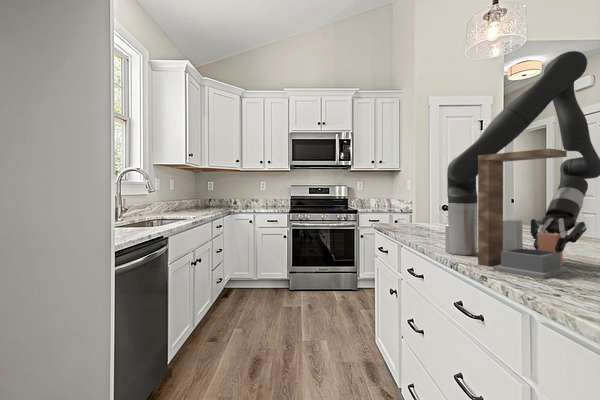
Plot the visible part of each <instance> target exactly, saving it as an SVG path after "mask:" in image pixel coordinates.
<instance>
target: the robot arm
mask: <svg viewBox="0 0 600 400" xmlns="http://www.w3.org/2000/svg"><path fill="white" fill-rule="evenodd" d="M587 67H588V59H587V56H586V55H585V54H584V53H583V52H581V51H577V50H573V51H572V50H571V51H565V52H563V53H561V54H559V55H557V56H556V57H555V58H553V59H551V60H550V61H549V62H548V63H547V65H546V66H545V67H544V70H543V74H542V75H541V76H540V78H539V79H538V80H537V81H536V82H535V83H534V84H532V86H530V87H529V88H528V89H527V90H525V91H524V92H523V93H521V94H520V95H518V97H516V98H514V100H512V101H511V102H510V103H508V104H507V105H506V106H505V108H503V109H502V110H501V111H500V112H499V114H497V115H496V116H495V118H494V119H493V120H492V121H491V122H490V123H489V124H488V126H487V127H486V128H485V129H484V130H483V132H482V133H481V134H480V136H479V137H478V138H477V139H476V140H475V142H473V143H472V145H470V146H469V147H468V148H467V149H465V150H464V151H463V152H462V153H461V154H459V155H458V156H456V157H454V159H452V161H450V163H449V164H448V165H447V174H446V175H447V178H446V179H447V182H446V183H447V224H445V233H444V235H445V241H444V244H445V253H449V254H453V255H457V256H458V255H460V256H475V255H478V190H477V177H478V155H488V154H498V153H500V152H501V150H503V149H504V148H505V147H507V146H508V145H509V144H511V143H512V142H513V141H514V140H516V138H518V137H519V136H520V135H521V134H522V133H524V131H525V130H526V129H527V128H528V127H529V126H530V125H531V124H532V123H534V121H535V120H536V119H537V118H538V117H539V116H540V114H542V112H544V110H545V109H547V107H548V106H549V105H550V104H551V102H552V103H553V107H554V110H555V114H556V117H557V121H558V126H559V132H560V137H561V142H562V148H563V151H567V152H577V153H580V155H581V157H575V158H573V157H572V158H569V159H565V160H564V161H563V162H562V163H561V164H560V167H559V171H560V175H559V177H560V179H559V185H558V187H557V189H556V191H555V193H554V194H553V196H552V197H551V200H550V203H549V205H548V208H547V210H546V212H545V215H544V217H542V219H541V220H536V219H535V218H532V219H531V220H530V235H531V237H532V238H533V240H534V242H533V247H534V250H537V248H538V234H539V233H555V234H560V237H561V238H559V240H558V242H557V245H556V247H555V250H556V252H558V253H560V252H562V251H563V252H564V250H565V247H566V245H567V244H569V243H576V242H577V241H578V240H579V239H580V238H581V237H582V235H583V234H585V232H586V231H587V229H588V228H587V226H586V223H585V222H584V221H579V222H578V221H577V220H578V217H579V215H580V212H581V210H582V208H583V204H584V199H585V197H586V194H587V191H588V189H589V184H588V181H587V180H589V179H597V178H598V177H600V156H599V155H598V153H597V150H596V149H595V147H594V146H593V143H592V141H591V135H590V131H589V123H588V121H587V118H586V116H585V113H584V112H583V110H582V108H581V107H580V105H579V102H578V100H577V98H576V93H575V82H576V81H577V80H579V79H580V78H581V77H582V76H583V75H584V74H585V72H586V70H587ZM539 229H540V230H539ZM572 229H573V230H572ZM569 231H571V232H570V233H568V232H569Z"/></svg>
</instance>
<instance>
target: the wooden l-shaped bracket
mask: <svg viewBox="0 0 600 400" xmlns="http://www.w3.org/2000/svg"><path fill="white" fill-rule="evenodd" d="M567 153H568V151H566V150H564V149H563V150H562V149H557V148H556V149H553V148H543V149H542V148H541V149H540V148H539V149H531V150H521V151H511V152H501V153H500V152H498V153H497V154H488V155H478V175H477V197H478V242H477V247H478V249H477V265H478V266H485V267H490V266H497V265H501V251H503V221H504V162H517V161H528V160H529V161H531V160H540V159H557V158H567V157H568V156H567Z"/></svg>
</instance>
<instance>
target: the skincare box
mask: <svg viewBox="0 0 600 400" xmlns="http://www.w3.org/2000/svg"><path fill="white" fill-rule="evenodd" d="M523 240H524V239H523V220H522V219H506V220H503V251H506V250H511V249H516V248H523V247H524V246H523V245H524V244H523V243H524V242H523Z"/></svg>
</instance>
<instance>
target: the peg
mask: <svg viewBox="0 0 600 400" xmlns="http://www.w3.org/2000/svg"><path fill="white" fill-rule="evenodd" d="M559 238H561V237H560V234H557V233H539V234H538V248H537V250H541V251H550V252H556V250H555V247H556V245H557V242H558V240H559ZM563 252H564V250H563V251H562V252H560V267H563V255H564V254H563Z"/></svg>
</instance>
